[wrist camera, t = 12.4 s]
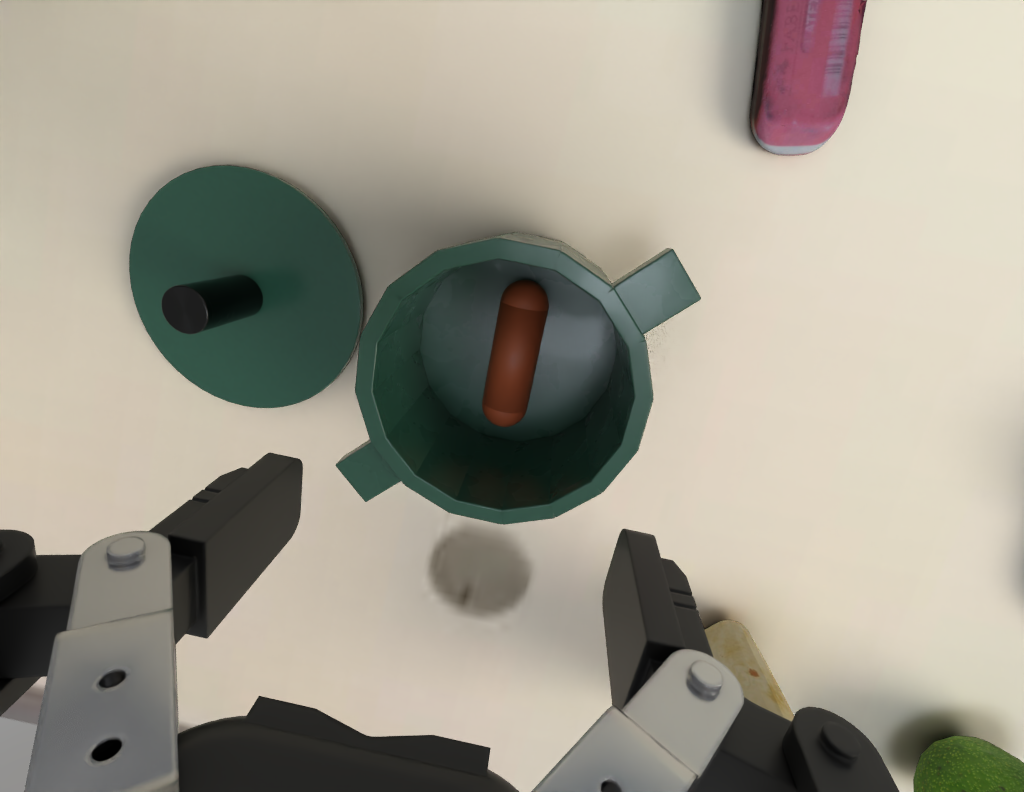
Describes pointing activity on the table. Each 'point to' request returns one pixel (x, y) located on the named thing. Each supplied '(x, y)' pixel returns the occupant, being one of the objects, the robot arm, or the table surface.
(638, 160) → the table surface
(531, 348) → the hot dog
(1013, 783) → the avocado
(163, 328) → the lid
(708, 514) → the table surface
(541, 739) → the table surface
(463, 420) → the pot
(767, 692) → the food model
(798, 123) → the eraser
